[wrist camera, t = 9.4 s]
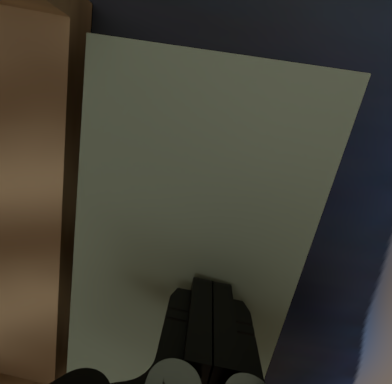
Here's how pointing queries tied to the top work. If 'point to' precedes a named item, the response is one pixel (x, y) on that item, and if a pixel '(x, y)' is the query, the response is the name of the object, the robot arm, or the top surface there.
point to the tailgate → (196, 188)
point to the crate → (39, 181)
